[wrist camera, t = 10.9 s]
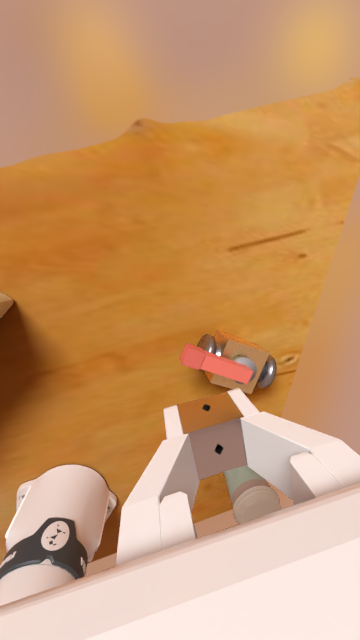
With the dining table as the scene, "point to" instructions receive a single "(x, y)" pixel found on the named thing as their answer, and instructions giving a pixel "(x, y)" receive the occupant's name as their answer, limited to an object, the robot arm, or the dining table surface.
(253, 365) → the lever
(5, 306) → the cheese
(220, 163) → the dining table surface
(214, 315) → the dining table surface
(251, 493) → the coffee cup
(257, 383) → the valve
